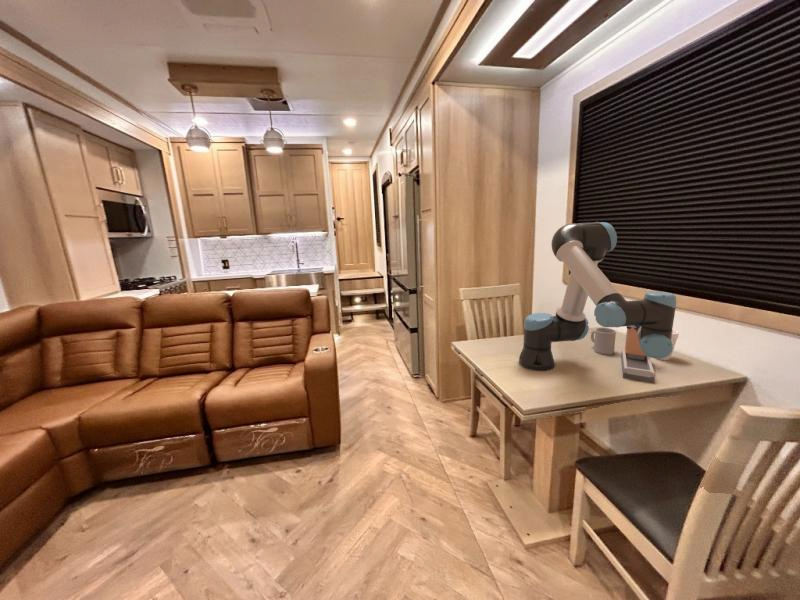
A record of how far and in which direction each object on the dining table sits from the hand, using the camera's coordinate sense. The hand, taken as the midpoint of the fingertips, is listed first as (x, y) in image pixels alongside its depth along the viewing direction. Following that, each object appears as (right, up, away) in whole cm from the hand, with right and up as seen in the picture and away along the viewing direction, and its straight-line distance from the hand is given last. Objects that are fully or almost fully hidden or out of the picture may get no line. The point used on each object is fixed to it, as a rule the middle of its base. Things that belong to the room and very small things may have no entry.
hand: (644, 315), depth 125 cm
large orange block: (+10, -20, +18) cm, 29 cm away
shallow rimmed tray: (+6, -23, +12) cm, 27 cm away
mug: (+4, -19, +33) cm, 39 cm away
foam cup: (+25, -21, +22) cm, 39 cm away
